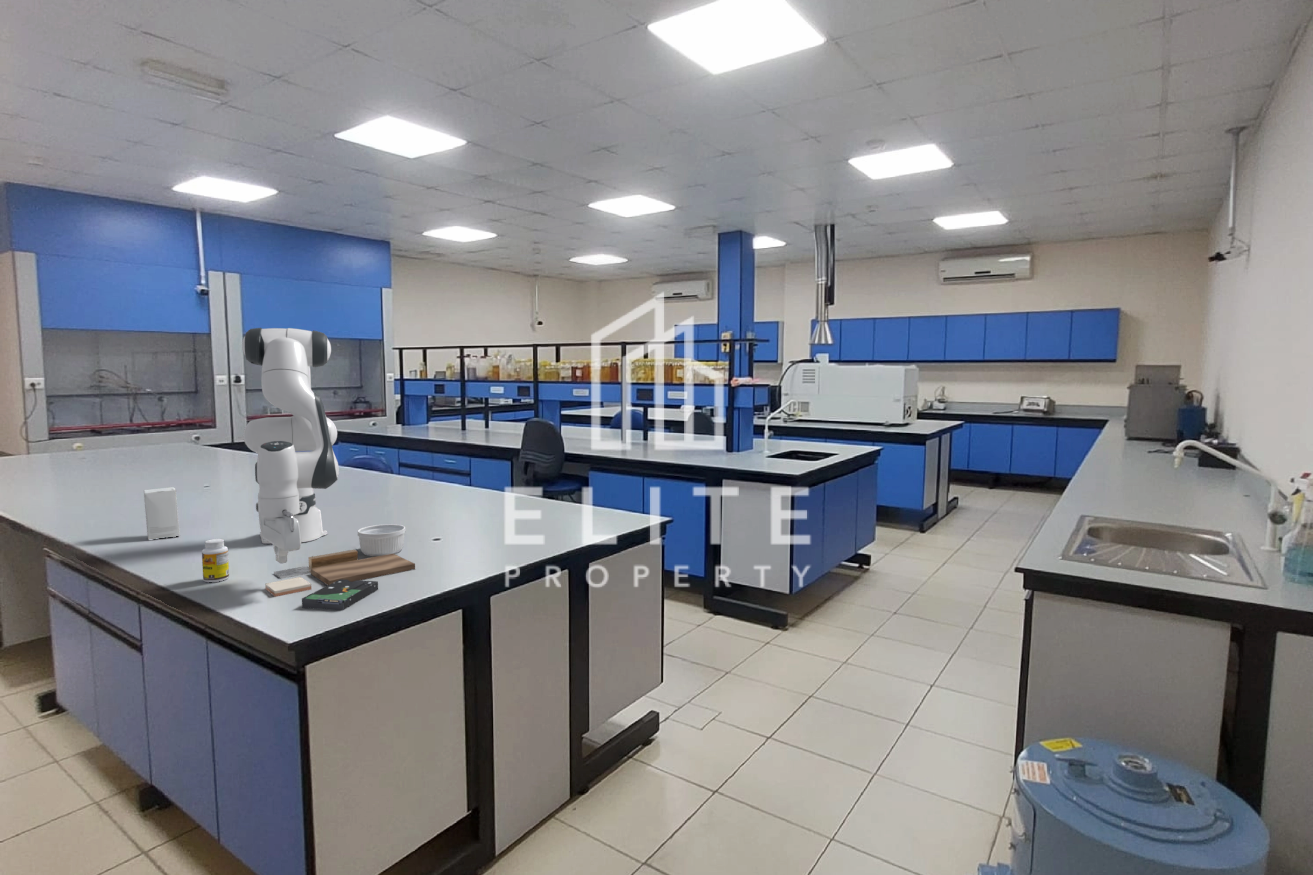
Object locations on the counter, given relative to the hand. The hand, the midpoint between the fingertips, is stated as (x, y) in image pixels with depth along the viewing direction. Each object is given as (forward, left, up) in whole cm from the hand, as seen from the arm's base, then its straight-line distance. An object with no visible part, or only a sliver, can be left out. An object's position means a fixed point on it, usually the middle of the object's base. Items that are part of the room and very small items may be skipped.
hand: (281, 562), depth 165 cm
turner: (-9, +11, -6) cm, 15 cm away
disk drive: (+20, +7, -7) cm, 22 cm away
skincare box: (-78, -13, -6) cm, 79 cm away
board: (+2, +19, -6) cm, 20 cm away
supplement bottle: (-16, -11, -6) cm, 20 cm away
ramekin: (-15, +31, -6) cm, 35 cm away
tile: (0, 0, -6) cm, 6 cm away
